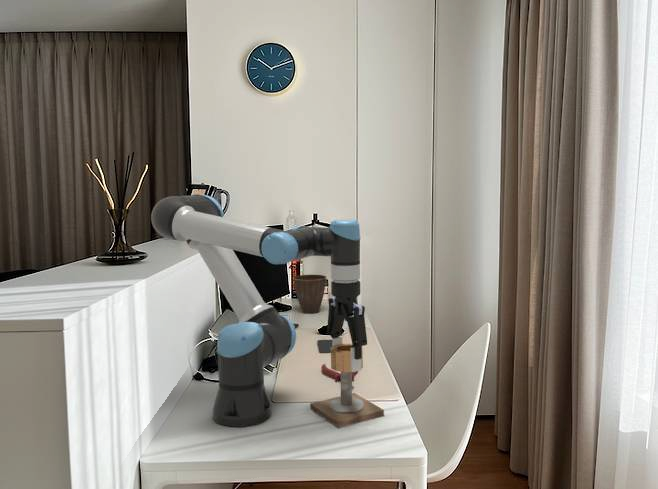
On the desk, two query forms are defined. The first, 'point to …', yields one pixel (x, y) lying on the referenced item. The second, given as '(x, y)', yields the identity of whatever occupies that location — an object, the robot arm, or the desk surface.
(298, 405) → the desk surface
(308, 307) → the plant pot
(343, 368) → the light wood ring
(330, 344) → the phone
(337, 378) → the pliers
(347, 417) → the bobbin stand
